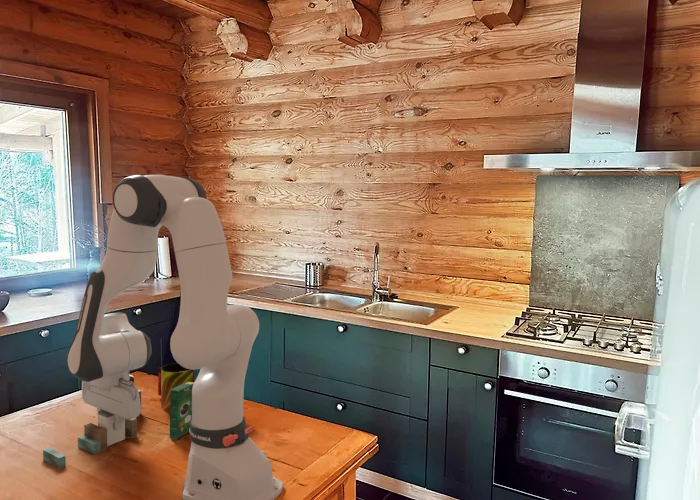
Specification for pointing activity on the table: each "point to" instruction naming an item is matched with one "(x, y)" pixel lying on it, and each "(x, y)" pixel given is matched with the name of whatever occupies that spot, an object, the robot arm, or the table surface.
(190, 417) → the coffee box
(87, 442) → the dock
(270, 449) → the table surface
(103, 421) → the grey rectangular block
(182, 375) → the mug
